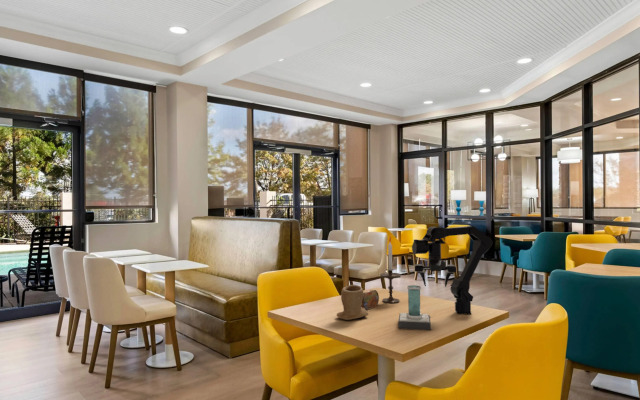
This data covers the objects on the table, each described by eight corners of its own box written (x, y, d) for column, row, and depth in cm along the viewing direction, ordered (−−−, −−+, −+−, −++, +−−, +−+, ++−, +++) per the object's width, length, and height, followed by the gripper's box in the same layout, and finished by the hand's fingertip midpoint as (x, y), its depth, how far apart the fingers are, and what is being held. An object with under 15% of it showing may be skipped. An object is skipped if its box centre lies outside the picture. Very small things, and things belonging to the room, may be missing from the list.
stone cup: (347, 323, 183) (347, 289, 183) (333, 317, 193) (332, 285, 193) (375, 318, 190) (374, 285, 191) (360, 313, 201) (359, 281, 201)
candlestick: (404, 303, 220) (403, 236, 220) (385, 304, 217) (384, 237, 218) (396, 298, 230) (395, 235, 231) (377, 300, 228) (376, 235, 228)
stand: (429, 321, 184) (429, 313, 184) (430, 330, 171) (430, 321, 172) (399, 320, 187) (399, 312, 187) (398, 328, 174) (398, 320, 174)
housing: (418, 314, 183) (417, 284, 184) (425, 318, 177) (424, 287, 177) (403, 315, 182) (403, 285, 182) (410, 319, 175) (409, 288, 176)
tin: (364, 311, 204) (364, 294, 204) (359, 310, 206) (358, 293, 206) (379, 305, 216) (379, 288, 216) (374, 304, 218) (374, 288, 218)
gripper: (414, 255, 191) (415, 289, 191) (457, 255, 187) (457, 290, 187) (414, 252, 202) (414, 284, 202) (454, 252, 198) (455, 285, 198)
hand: (435, 286), depth 197 cm, fingers open, 9 cm apart
